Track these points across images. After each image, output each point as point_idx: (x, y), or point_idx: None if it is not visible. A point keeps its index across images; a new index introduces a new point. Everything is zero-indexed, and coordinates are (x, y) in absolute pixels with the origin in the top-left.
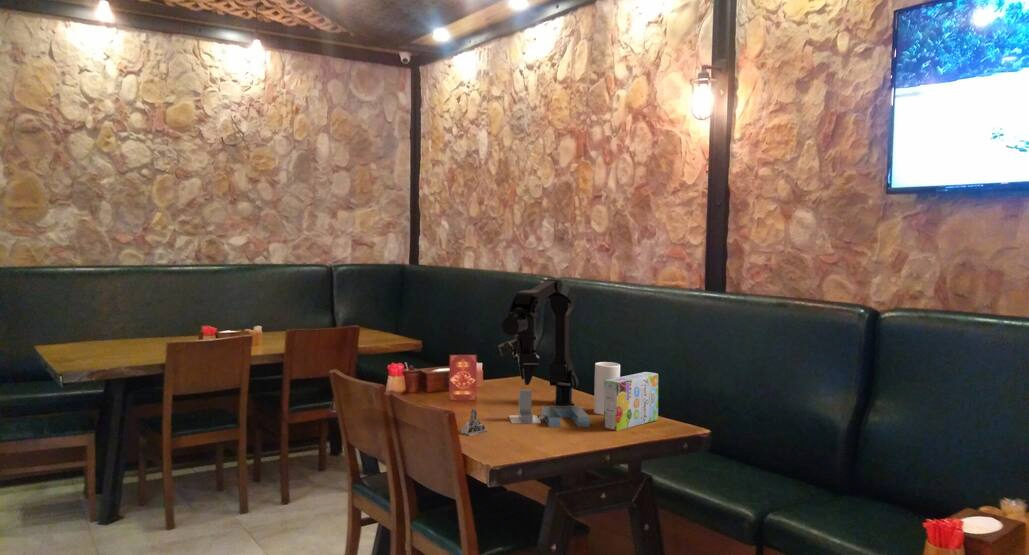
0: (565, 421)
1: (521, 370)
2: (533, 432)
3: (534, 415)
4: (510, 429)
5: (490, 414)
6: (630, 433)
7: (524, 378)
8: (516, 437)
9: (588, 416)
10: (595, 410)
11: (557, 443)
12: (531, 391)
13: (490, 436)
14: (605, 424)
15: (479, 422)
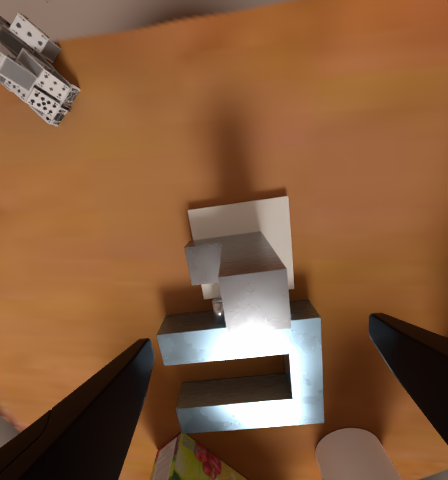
0: (242, 358)
1: (444, 371)
2: (103, 274)
3: (288, 281)
4: (123, 206)
5: (332, 122)
6: (144, 470)
7: (94, 375)
8: (34, 227)
9: (190, 432)
10: (342, 437)
11: (11, 329)
12: (227, 333)
13: (20, 143)
14: (175, 445)
15: (23, 80)
